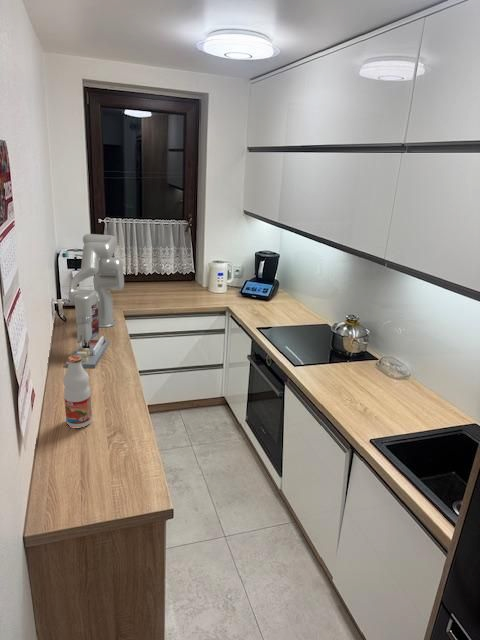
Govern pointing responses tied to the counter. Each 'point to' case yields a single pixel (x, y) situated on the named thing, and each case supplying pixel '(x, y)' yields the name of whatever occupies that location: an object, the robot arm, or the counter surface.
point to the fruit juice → (77, 394)
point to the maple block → (84, 354)
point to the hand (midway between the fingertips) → (86, 352)
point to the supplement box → (95, 322)
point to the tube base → (93, 352)
